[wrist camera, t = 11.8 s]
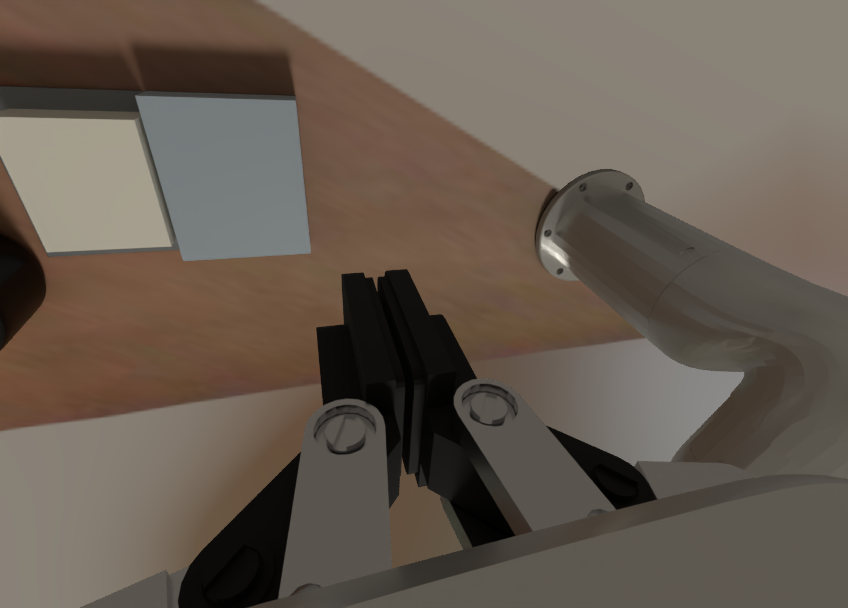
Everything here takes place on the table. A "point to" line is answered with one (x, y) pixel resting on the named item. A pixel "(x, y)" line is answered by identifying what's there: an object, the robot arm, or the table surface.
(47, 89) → the mat
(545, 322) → the table surface
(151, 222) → the tile
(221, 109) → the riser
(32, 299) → the ink bottle
